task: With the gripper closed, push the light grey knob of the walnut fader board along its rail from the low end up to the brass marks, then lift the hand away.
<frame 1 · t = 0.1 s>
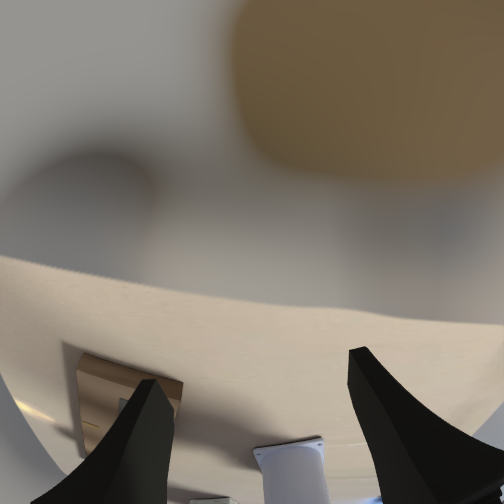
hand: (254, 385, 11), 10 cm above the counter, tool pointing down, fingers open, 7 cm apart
fader board: (124, 435, 30), on the counter
supplement box: (217, 502, 42), on the counter
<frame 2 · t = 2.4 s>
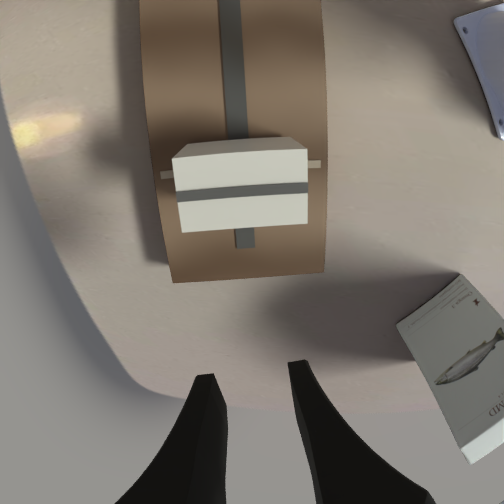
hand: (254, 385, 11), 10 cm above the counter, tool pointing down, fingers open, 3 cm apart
fader board: (232, 48, 15), on the counter
supplement box: (438, 319, 25), on the counter
fader knob: (241, 178, 14), point 4 cm above the counter, slide at 0.0 cm
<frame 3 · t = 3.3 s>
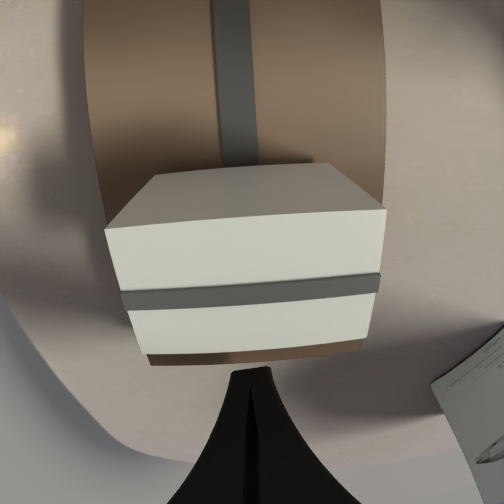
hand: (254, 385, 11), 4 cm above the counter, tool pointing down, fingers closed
fader board: (231, 17, 9), on the counter
supplement box: (475, 371, 18), on the counter
fader knob: (247, 246, 8), point 4 cm above the counter, slide at 0.0 cm
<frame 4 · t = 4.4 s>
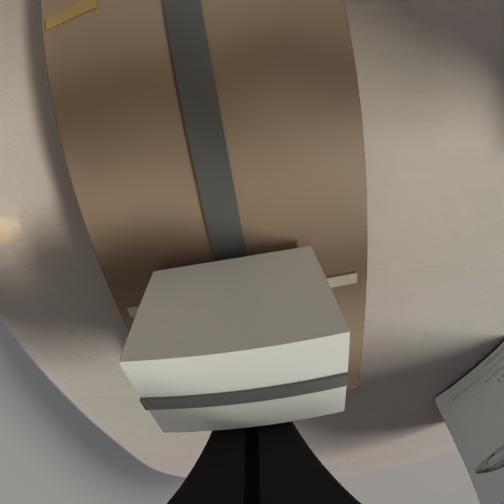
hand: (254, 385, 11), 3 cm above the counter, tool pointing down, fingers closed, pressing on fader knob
fader board: (205, 98, 10), on the counter
supplement box: (479, 380, 19), on the counter
fader knob: (240, 340, 9), point 4 cm above the counter, slide at 0.2 cm, touching gripper
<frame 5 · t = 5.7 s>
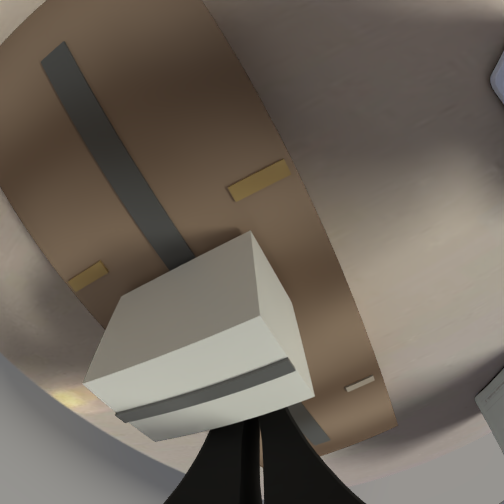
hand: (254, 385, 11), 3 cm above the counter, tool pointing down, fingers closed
fader board: (226, 291, 13), on the counter
fader knob: (199, 342, 9), point 4 cm above the counter, slide at 7.9 cm, touching gripper
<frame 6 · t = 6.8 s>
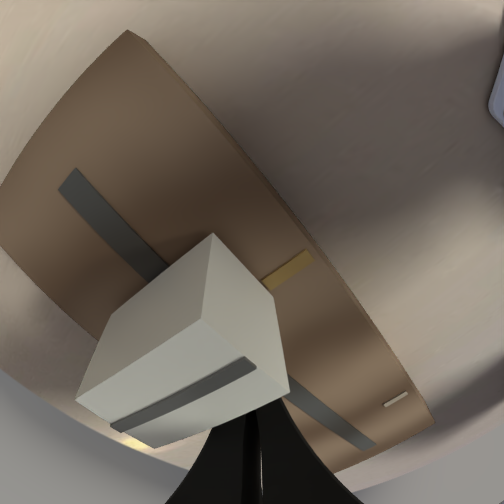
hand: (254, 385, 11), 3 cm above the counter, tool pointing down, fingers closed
fader board: (270, 344, 15), on the counter
fader knob: (179, 349, 9), point 4 cm above the counter, slide at 11.6 cm, touching gripper
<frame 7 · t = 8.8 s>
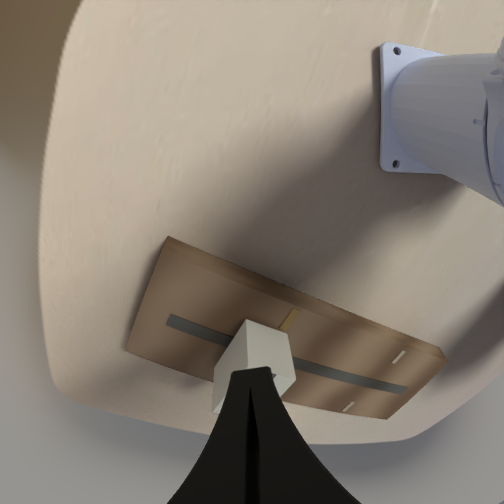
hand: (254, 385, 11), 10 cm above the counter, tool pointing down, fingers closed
fader board: (306, 349, 24), on the counter
fader knob: (250, 374, 19), point 4 cm above the counter, slide at 11.7 cm
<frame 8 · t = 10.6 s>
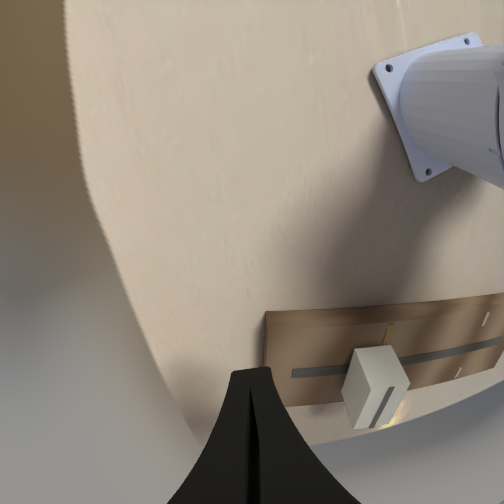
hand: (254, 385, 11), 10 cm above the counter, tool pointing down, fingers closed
fader board: (409, 343, 25), on the counter
fader knob: (372, 388, 21), point 4 cm above the counter, slide at 11.7 cm
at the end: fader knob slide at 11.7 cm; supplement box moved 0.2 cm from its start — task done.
